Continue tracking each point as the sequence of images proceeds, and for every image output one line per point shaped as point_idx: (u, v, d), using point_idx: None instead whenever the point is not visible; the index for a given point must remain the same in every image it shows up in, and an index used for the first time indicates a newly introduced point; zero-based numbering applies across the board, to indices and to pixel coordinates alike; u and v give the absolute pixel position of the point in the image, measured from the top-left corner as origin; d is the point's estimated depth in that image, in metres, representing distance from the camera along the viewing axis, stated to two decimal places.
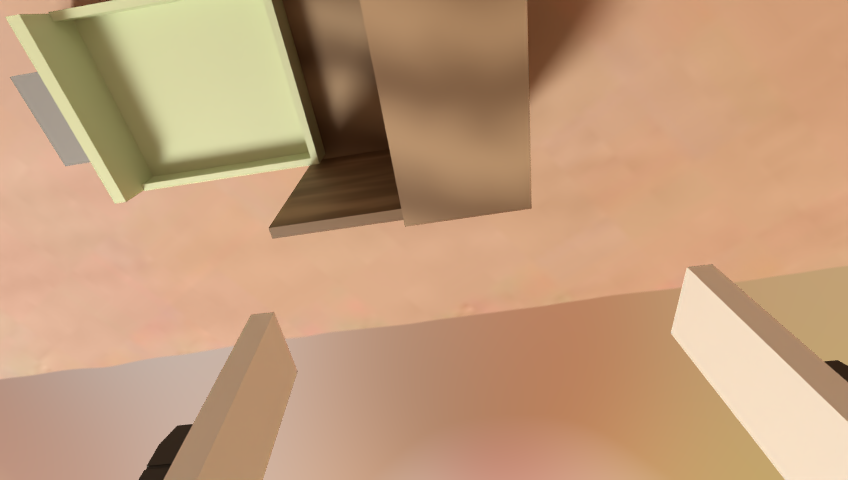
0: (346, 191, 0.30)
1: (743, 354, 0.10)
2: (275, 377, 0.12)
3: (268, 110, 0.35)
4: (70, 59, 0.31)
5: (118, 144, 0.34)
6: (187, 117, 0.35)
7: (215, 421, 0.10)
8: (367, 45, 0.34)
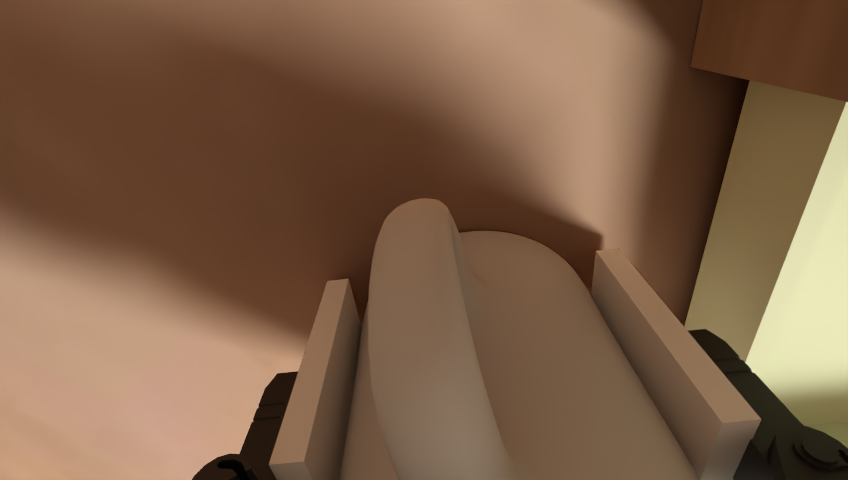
0: None
1: (630, 325, 0.12)
2: (352, 337, 0.14)
3: None
4: None
5: None
6: None
7: (319, 365, 0.11)
8: None
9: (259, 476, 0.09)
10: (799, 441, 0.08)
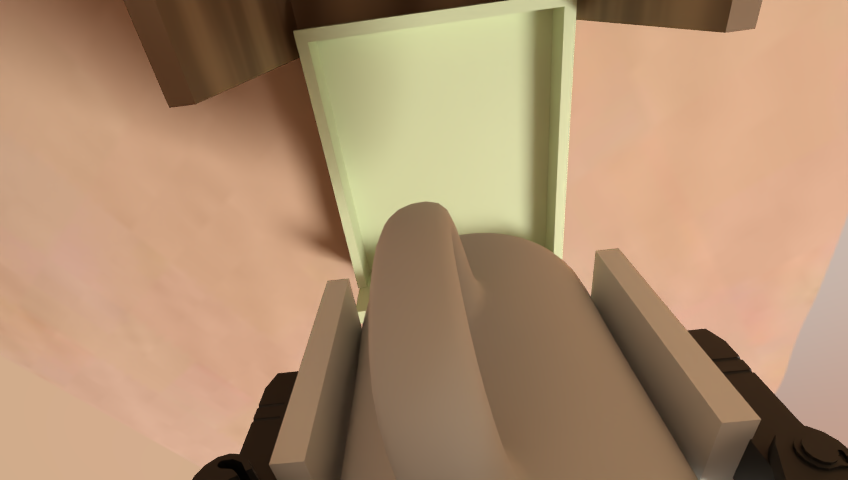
0: None
1: (630, 325, 0.12)
2: (352, 337, 0.14)
3: (479, 76, 0.24)
4: None
5: None
6: (477, 189, 0.27)
7: (319, 365, 0.11)
8: None
9: (259, 476, 0.09)
10: (799, 441, 0.08)
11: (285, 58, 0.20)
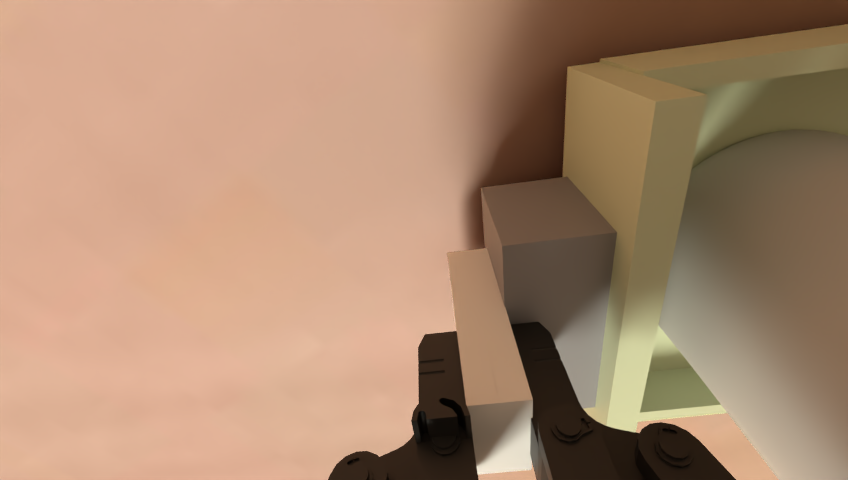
0: None
1: None
2: None
3: None
4: None
5: None
6: None
7: (475, 324, 0.11)
8: None
9: None
10: (554, 422, 0.09)
11: None
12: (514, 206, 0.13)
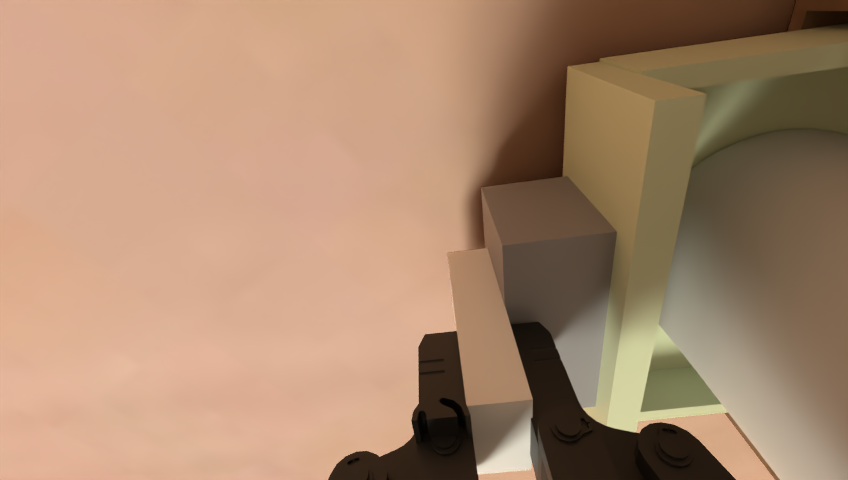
0: None
1: None
2: None
3: None
4: None
5: None
6: None
7: (475, 324, 0.11)
8: None
9: None
10: (554, 422, 0.09)
11: None
12: (514, 206, 0.13)
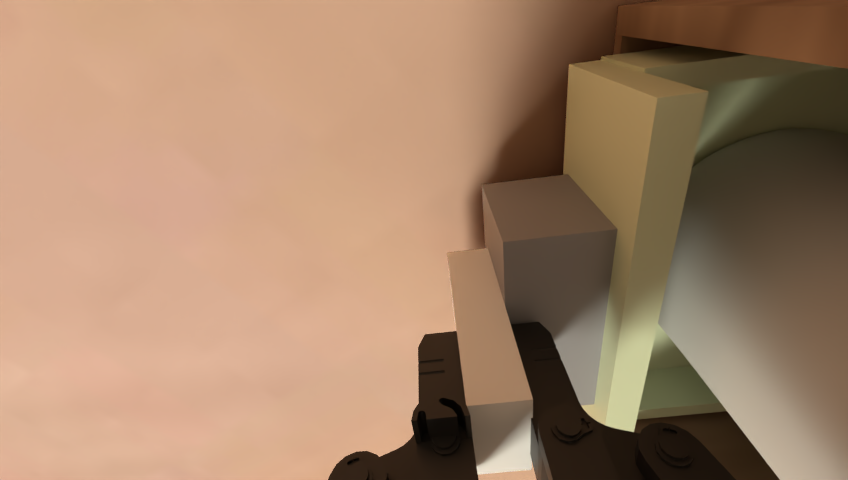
0: None
1: None
2: None
3: None
4: None
5: None
6: None
7: (475, 324, 0.11)
8: None
9: None
10: (554, 422, 0.09)
11: (704, 45, 0.09)
12: (515, 203, 0.13)
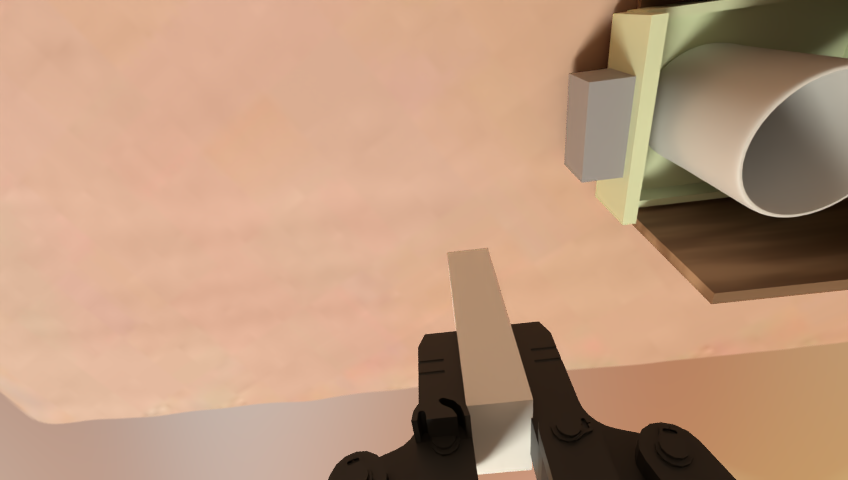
0: (742, 246, 0.28)
1: None
2: None
3: None
4: None
5: None
6: None
7: (475, 324, 0.11)
8: None
9: None
10: (554, 422, 0.09)
11: None
12: (589, 75, 0.28)
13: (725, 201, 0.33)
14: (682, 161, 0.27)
